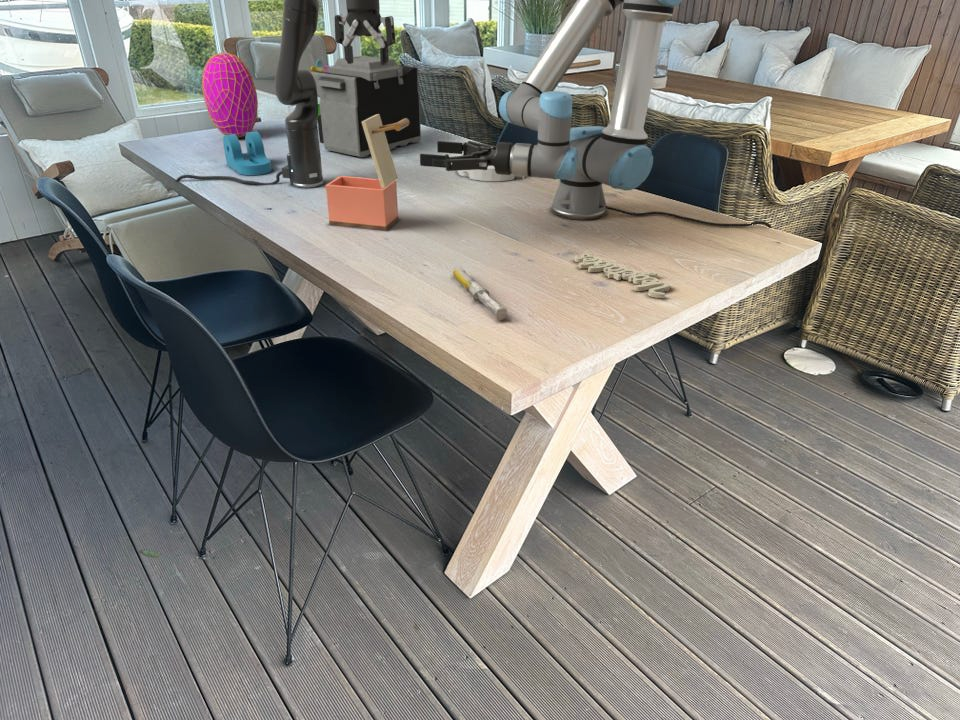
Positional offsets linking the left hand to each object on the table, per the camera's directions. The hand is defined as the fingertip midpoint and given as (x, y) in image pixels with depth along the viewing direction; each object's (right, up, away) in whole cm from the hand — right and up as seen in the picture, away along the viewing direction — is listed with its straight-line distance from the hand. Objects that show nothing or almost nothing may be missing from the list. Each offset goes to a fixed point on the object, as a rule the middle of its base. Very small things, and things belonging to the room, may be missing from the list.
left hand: (366, 64), depth 164 cm
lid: (+1, -18, +10) cm, 20 cm away
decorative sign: (+60, -52, -8) cm, 79 cm away
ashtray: (+31, -8, +65) cm, 73 cm away
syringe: (+27, -57, -19) cm, 66 cm away
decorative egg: (-68, +16, +104) cm, 125 cm away
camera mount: (-49, -7, +65) cm, 82 cm away
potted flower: (-39, +32, +131) cm, 140 cm away
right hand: (+14, -19, +7) cm, 25 cm away
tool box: (-14, +10, +94) cm, 96 cm away
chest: (-4, -34, +21) cm, 40 cm away
